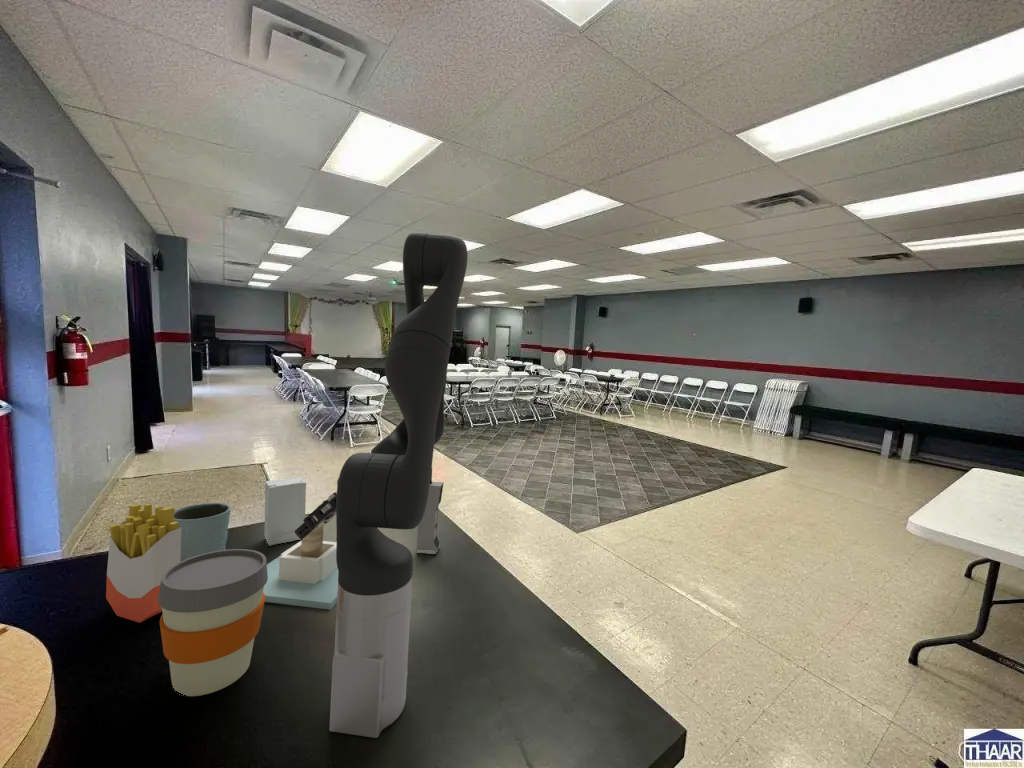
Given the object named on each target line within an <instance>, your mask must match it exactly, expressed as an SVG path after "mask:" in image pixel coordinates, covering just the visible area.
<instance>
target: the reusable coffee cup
mask: <svg viewBox="0 0 1024 768" xmlns="http://www.w3.org/2000/svg"><path fill="white" fill-rule="evenodd" d="M267 564H268V563H267V557H266V556H265V554H264V553H262V552H260V551H257V550H253V549H247V548H229V549H226V550H220V551H214V552H209V553H205V554H201V555H197V556H194V557H191V558H188V559H186V560H184V561H181V562H179V563H177V564H175V565H174V566H172V567H170V568H169V569H168V570H167V571H166V572H165V573H164V574H163V575H162V578H161V584H160V590H159V595H158V604H159V605H160V606H161V607H162V612H161V613H162V614H161V616H160V618H159V627H160V635H161V642H162V649H163V650H162V651H163V655H164V657H165V658H166V660H168V664H169V665H168V666H169V672H170V680H171V685H172V686H173V687H172V689H173V688H174V690H175V691H177V692H179V693H181V694H183V695H182V696H184V695H186V696H185V697H200V696H203V695H204V696H205V695H209V694H212V693H214V692H218V691H221V690H222V689H225V688H226V687H228V686H230V685H232V684H233V683H235V682H237V681H238V680H239V679H240V678H242V676H243V675H244V674H245V673H246V672H247V670H248V669H249V667H250V664H251V659H252V654H253V647H254V643H255V637H257V635H258V633H259V632H260V631H259V630H260V627H261V621H262V616H263V611H264V607H265V602H264V601H265V594H264V593H263V590H264V585H265V584H266V583H267V580H268V573H267ZM174 690H173V691H174ZM175 691H174V692H175Z"/></svg>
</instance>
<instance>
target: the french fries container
mask: <svg viewBox="0 0 1024 768" xmlns="http://www.w3.org/2000/svg"><path fill="white" fill-rule="evenodd" d="M128 509H129V510H128V516H126V517H125V521H122V522H121V523H120V524H118V523H115V524H111V525H110V526H109V532H110V536H109V544H108V545H109V546H108V554H107V555H108V559H107V568H106V587H105V588H106V590H105V592H106V593H105V599H106V601H107V602H108V603H109V606H111V609H112V610H113V612H114V614H115V615H116V616H118V617H119V618H123V619H127V620H130V621H133V622H136V623H139V624H140V623H143V622H144V621H146V620H149V619H150V618H151V619H152V617H155V616H157V615H158V614H160V613H162V607H161V606H160V605H159V604H158V595H159V590H160V584H161V578H162V575H163V574H164V573H165V572H166V571H167V570H168V569H169V568H170V567H172V566H174V565H175V564H177V563H179V562H180V555H181V528H180V527H178V525H179V522H174V511H175V507H170V506H168V507H165V508H164V507H163V506H158V507H155V508H154V514H153V504H152V503H148V504H144V505H143V509H142V504H138V503H137V504H133V505H129V506H128Z"/></svg>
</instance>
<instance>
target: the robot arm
mask: <svg viewBox="0 0 1024 768" xmlns="http://www.w3.org/2000/svg"><path fill="white" fill-rule="evenodd" d="M404 240H405V241H404V245H403V251H402V271H403V273H402V274H403V283H404V296H405V305H406V306H405V307H406V315H407V316H405V317H404V318H403V319H402V320H401V322H399V323H398V324H397V326H396V327H395V329H394V331H393V333H392V336H391V339H390V344H389V347H388V350H387V355H386V358H385V362H384V363H385V364H384V375H385V378H386V382H387V383H388V387H389V389H390V391H391V393H392V396H393V397H394V399H395V402H396V404H397V406H398V408H399V410H400V412H401V414H402V418H403V419H402V420H401V421H400V422H399V424H398V425H397V426H396V427H395V428H394V429H393V430H392V432H391V433H390V434H388V435H387V436H385V437H384V438H383V439H381V440H380V442H378V443H377V445H375V446H374V447H373V448H372V449H371V450H370V451H368V452H357V453H354V454H352V455H350V456H349V457H348V458H347V459H346V461H345V462H344V463H343V465H342V468H341V470H340V473H339V477H338V478H337V481H336V485H337V486H336V487H337V488H336V492H335V491H334V492H333V493H331V494H330V495H329V496H328V497H327V499H325V500H323V501H322V503H321V504H319V505H318V506H317V507H316V508H315V509H314V510H313V511H311V513H309V515H307V516H305V518H304V520H303V521H304V523H303V524H302V525H301V526H300V527H298V528H297V529H296V530H295V534H296V535H297V536H298V537H299V539H303V538H305V537H306V536H307V535H308V534H309V533H310V532H311V531H313V530H314V529H315V528H317V527H318V526H319V525H320V524H321V523H323V522H324V525H325V524H327V523H329V522H330V521H331V520H332V519H333V518H334V517H336V518H335V519H336V522H335V523H336V526H335V527H336V542H337V546H336V562H337V567H338V593H337V603H336V610H335V611H336V612H335V613H336V614H335V615H336V617H335V630H334V631H335V633H334V635H335V636H334V637H335V638H334V650H333V651H334V654H333V656H332V665H331V666H332V667H331V668H332V671H331V687H330V688H331V689H330V690H331V692H330V710H329V732H332V733H341V734H347V735H354V736H360V737H366V738H367V737H368V738H374V739H377V738H379V736H380V735H381V732H382V731H383V730H384V729H386V728H387V727H388V726H390V725H392V724H393V723H394V722H395V721H396V720H397V719H398V718H399V717H400V715H401V714H402V712H403V711H404V708H405V705H406V700H407V699H406V698H407V680H408V660H409V642H410V641H409V640H410V622H411V605H412V604H411V603H412V602H411V601H412V591H413V590H412V589H413V588H412V586H413V571H414V570H413V569H414V558H413V555H412V551H411V550H410V549H409V548H408V547H406V545H404V544H402V543H400V542H397V541H396V540H393V539H392V538H390V537H389V536H387V535H385V534H384V533H383V532H382V531H381V530H380V529H392V530H413V529H415V528H418V525H419V523H420V522H421V520H422V518H423V516H424V513H425V509H426V505H427V500H428V495H429V487H430V479H431V469H432V470H433V460H434V459H433V458H434V449H435V448H434V447H435V444H437V443H438V442H439V441H440V440H441V439H442V438H443V434H444V431H445V422H446V420H445V419H446V417H445V392H446V389H447V388H446V387H447V376H448V366H449V360H450V353H451V349H452V348H451V347H452V341H453V332H454V324H455V318H456V313H457V310H458V309H457V308H458V304H459V300H460V297H461V292H462V289H463V285H464V281H465V276H466V272H467V267H468V254H469V253H468V247H467V244H466V242H465V240H464V239H463V238H461V237H459V236H456V235H452V234H443V233H430V232H421V231H412V232H410V233H409V234H408V235H407V237H406V238H405V239H404ZM424 287H434V288H436V289H435V290H434V291H433V293H432V294H431V295H429V297H428V298H427V299H426V300H425V296H424ZM317 520H318V521H317Z"/></svg>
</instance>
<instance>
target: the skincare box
mask: <svg viewBox="0 0 1024 768" xmlns="http://www.w3.org/2000/svg"><path fill="white" fill-rule="evenodd" d="M306 496H307V482H306V481H305V480H304V479H303V477H301V476H296V477H295V476H294V477H289V478H283V479H280V478H279V479H274V480H265V481H264V536H265V538H264V540H265V539H266V540H265V542H266V541H267V542H266V544H267V543H268V544H269V545H270V544H275V543H280V542H284V541H287V540H290V539H295V538H298V536H297V535H296V534H295V530H296V529H297V528H298V527H300V526H301V525H302V524H303V523H304V521H303V520H304V518H305V517H306V502H307V501H306ZM300 516H301V517H300Z"/></svg>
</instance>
